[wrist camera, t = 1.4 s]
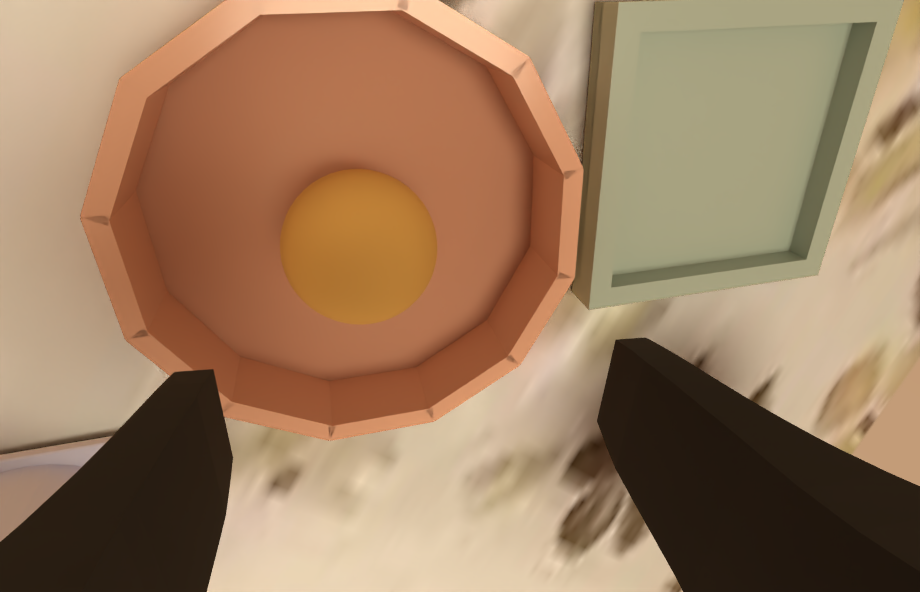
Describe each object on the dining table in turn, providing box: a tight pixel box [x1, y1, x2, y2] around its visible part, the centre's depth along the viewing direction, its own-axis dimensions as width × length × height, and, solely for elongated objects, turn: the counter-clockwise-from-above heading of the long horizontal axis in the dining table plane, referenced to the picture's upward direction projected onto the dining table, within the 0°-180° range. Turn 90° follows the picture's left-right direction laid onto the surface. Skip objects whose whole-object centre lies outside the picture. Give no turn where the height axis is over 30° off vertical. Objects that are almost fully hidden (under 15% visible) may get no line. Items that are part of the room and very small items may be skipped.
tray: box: [572, 0, 904, 310], centre depth 20 cm, size 10×10×2 cm
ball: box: [280, 169, 437, 325], centre depth 16 cm, size 4×4×4 cm
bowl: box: [80, 0, 584, 441], centre depth 17 cm, size 13×13×3 cm
